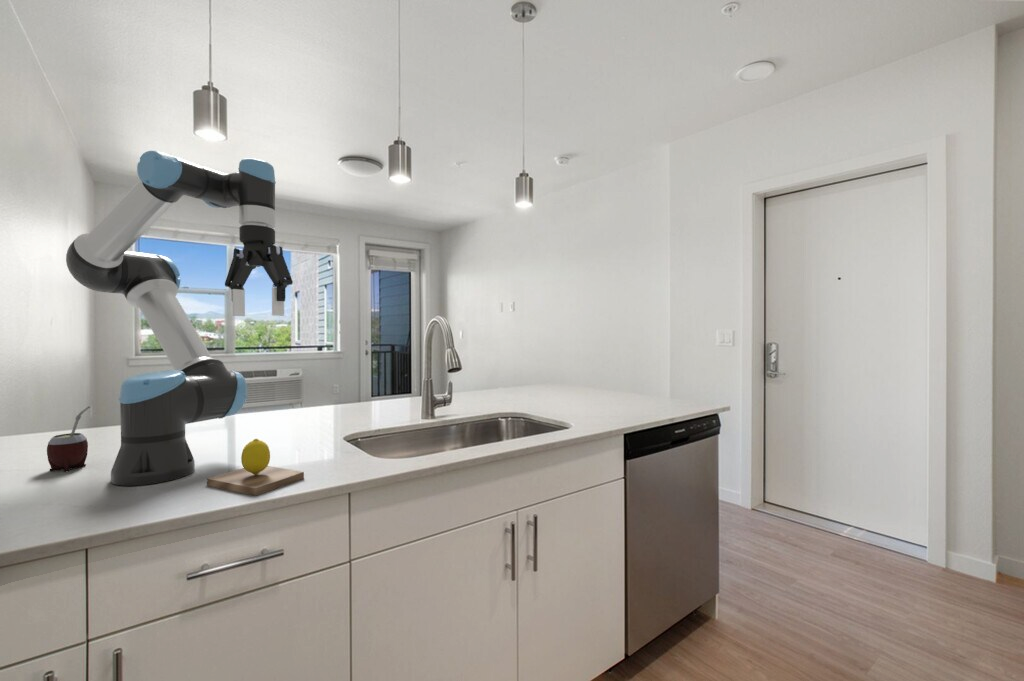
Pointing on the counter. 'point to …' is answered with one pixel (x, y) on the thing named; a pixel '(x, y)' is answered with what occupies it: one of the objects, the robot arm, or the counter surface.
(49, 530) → the counter surface
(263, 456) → the lemon
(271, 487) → the walnut board
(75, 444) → the mate gourd
